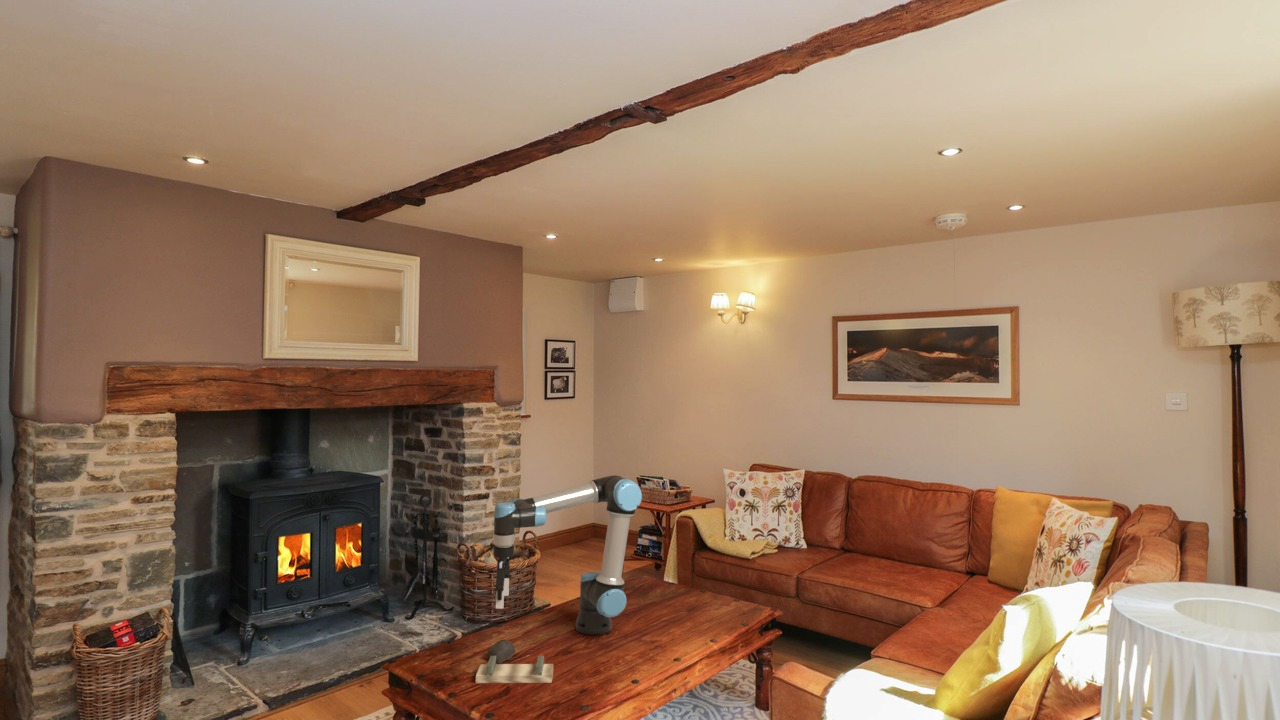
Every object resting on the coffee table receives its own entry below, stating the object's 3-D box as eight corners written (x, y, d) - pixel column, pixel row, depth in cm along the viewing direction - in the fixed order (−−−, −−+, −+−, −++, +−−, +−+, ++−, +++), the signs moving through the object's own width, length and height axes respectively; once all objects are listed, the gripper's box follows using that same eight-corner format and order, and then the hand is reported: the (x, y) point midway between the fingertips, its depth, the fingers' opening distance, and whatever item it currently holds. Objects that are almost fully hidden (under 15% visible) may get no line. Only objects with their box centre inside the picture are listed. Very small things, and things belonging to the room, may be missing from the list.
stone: (485, 672, 251) (496, 660, 246) (481, 649, 256) (492, 637, 251) (509, 669, 257) (521, 657, 251) (505, 647, 262) (516, 635, 257)
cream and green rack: (553, 670, 245) (553, 655, 245) (551, 682, 236) (551, 666, 236) (480, 671, 243) (480, 655, 243) (475, 683, 234) (476, 667, 234)
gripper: (498, 536, 267) (497, 590, 266) (488, 554, 242) (486, 613, 242) (518, 536, 267) (516, 590, 267) (509, 554, 242) (507, 614, 242)
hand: (502, 601), depth 254 cm, fingers open, 13 cm apart
